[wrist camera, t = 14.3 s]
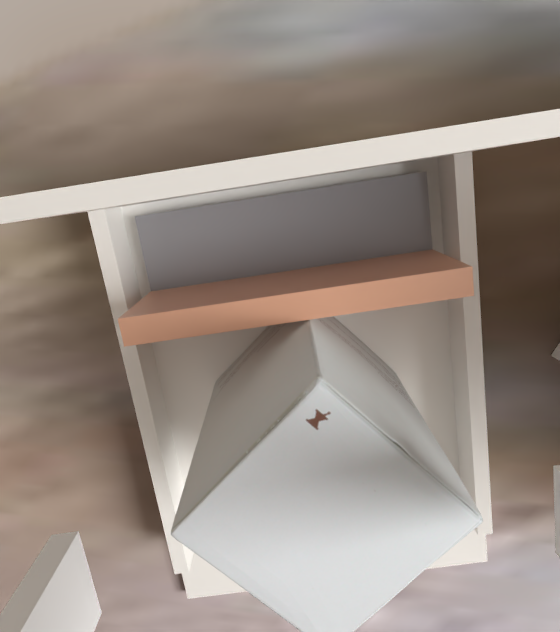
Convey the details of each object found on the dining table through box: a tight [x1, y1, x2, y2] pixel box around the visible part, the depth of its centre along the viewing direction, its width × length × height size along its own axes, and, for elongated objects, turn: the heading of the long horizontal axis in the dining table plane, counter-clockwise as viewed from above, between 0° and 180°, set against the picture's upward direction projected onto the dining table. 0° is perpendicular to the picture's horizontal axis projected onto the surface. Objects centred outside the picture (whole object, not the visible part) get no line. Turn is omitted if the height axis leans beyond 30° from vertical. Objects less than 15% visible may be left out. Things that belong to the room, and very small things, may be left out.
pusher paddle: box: [118, 171, 474, 347], centre depth 23 cm, size 14×5×6 cm, turn 99°
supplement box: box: [171, 316, 483, 632], centre depth 22 cm, size 7×7×13 cm
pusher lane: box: [0, 109, 560, 599], centre depth 24 cm, size 19×25×11 cm
